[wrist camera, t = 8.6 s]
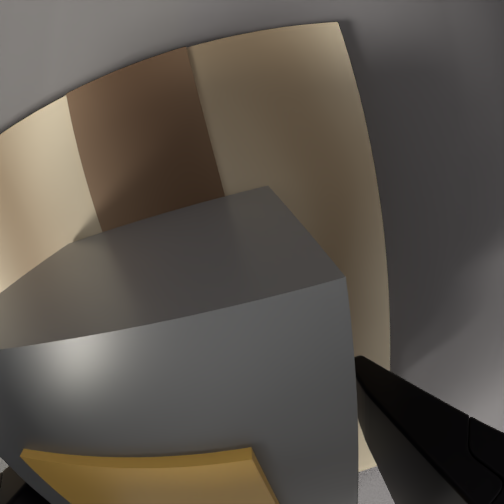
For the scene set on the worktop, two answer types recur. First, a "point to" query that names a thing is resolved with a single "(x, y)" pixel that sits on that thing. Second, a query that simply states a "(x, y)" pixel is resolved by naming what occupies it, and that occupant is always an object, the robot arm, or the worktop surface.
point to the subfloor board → (208, 158)
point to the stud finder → (183, 363)
